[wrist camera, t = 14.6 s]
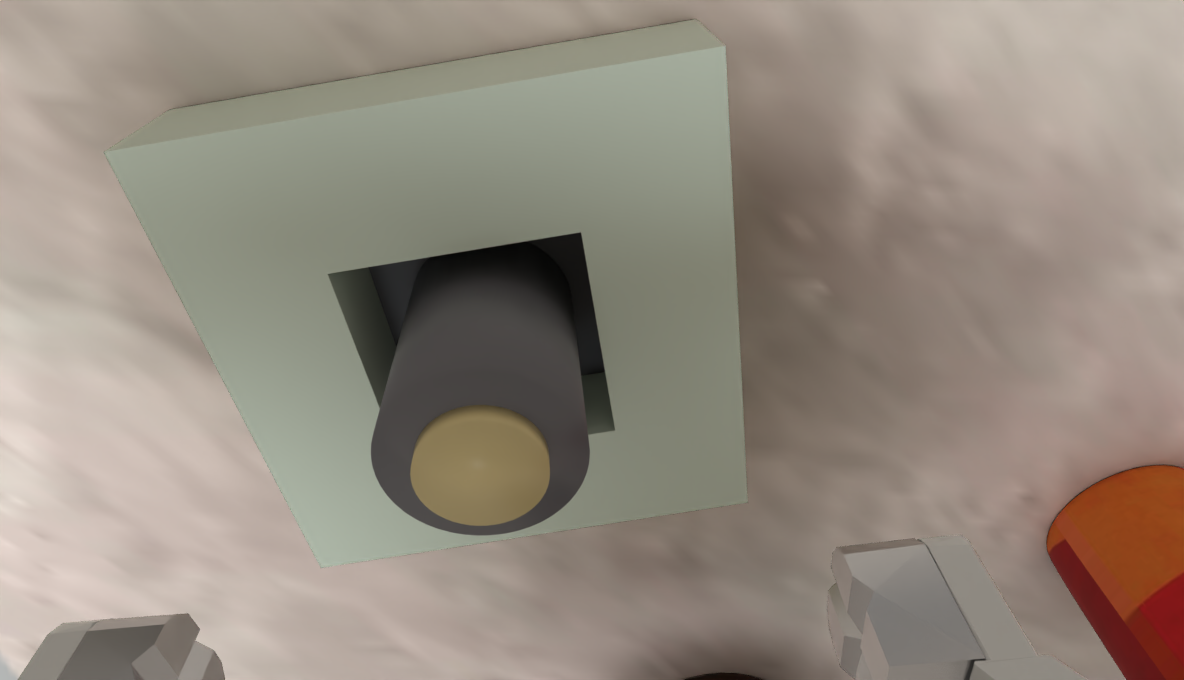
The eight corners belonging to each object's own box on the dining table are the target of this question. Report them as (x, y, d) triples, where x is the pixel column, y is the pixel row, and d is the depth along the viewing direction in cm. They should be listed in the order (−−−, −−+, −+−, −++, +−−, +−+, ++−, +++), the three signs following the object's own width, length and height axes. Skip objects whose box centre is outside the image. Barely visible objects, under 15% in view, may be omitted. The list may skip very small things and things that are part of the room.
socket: (696, 19, 16) (725, 46, 14) (724, 432, 23) (747, 502, 20) (169, 109, 17) (103, 151, 14) (344, 491, 23) (320, 568, 21)
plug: (558, 220, 18) (573, 367, 13) (583, 359, 20) (605, 535, 15) (390, 248, 18) (334, 406, 13) (434, 384, 20) (402, 568, 15)
